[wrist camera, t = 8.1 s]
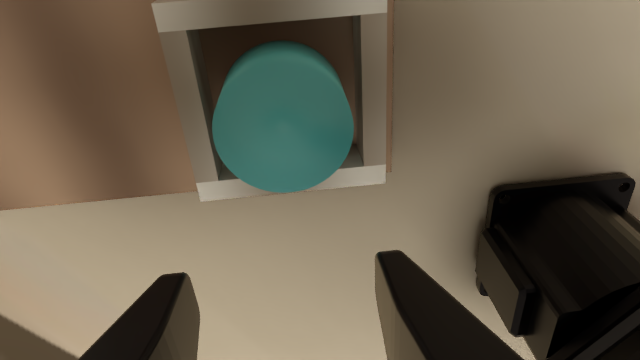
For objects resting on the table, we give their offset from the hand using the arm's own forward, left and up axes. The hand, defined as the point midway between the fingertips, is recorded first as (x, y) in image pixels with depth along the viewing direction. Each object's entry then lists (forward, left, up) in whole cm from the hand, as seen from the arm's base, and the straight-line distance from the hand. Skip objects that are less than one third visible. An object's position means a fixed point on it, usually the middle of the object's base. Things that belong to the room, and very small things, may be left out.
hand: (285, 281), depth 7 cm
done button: (0, 0, -8) cm, 8 cm away
